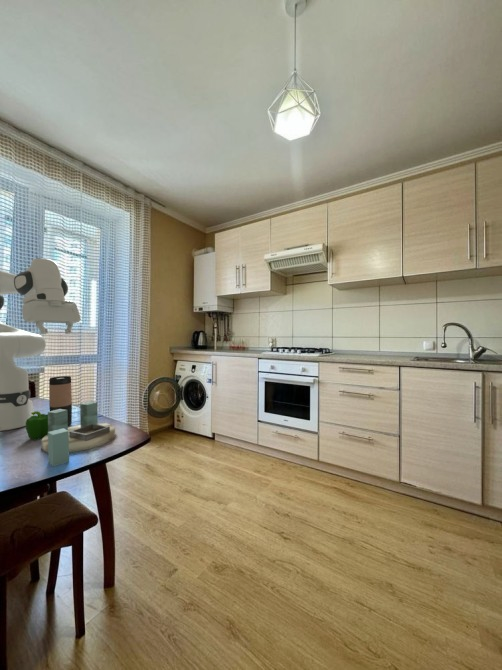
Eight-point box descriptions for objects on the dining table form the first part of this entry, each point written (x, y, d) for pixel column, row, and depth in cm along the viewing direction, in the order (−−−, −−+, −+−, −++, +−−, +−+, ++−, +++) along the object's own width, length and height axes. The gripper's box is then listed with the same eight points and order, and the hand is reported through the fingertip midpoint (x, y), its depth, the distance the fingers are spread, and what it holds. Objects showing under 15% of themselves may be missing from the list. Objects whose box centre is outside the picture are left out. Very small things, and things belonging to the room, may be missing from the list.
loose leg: (48, 462, 81) (47, 432, 81) (64, 457, 84) (63, 428, 84) (53, 466, 78) (52, 434, 78) (69, 461, 82) (68, 430, 82)
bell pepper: (50, 431, 107) (49, 406, 107) (57, 436, 102) (56, 409, 102) (22, 438, 101) (22, 411, 101) (28, 443, 96) (28, 415, 96)
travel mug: (76, 422, 118) (75, 376, 118) (62, 429, 110) (61, 379, 110) (59, 422, 119) (59, 376, 119) (45, 428, 111) (44, 379, 111)
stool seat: (35, 441, 98) (34, 408, 98) (102, 425, 114) (101, 397, 114) (50, 459, 83) (49, 421, 83) (125, 438, 99) (124, 406, 99)
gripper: (70, 303, 119) (75, 334, 118) (16, 298, 99) (23, 335, 99) (81, 299, 117) (86, 331, 116) (28, 293, 97) (35, 332, 97)
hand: (57, 333), depth 107 cm, fingers open, 8 cm apart
